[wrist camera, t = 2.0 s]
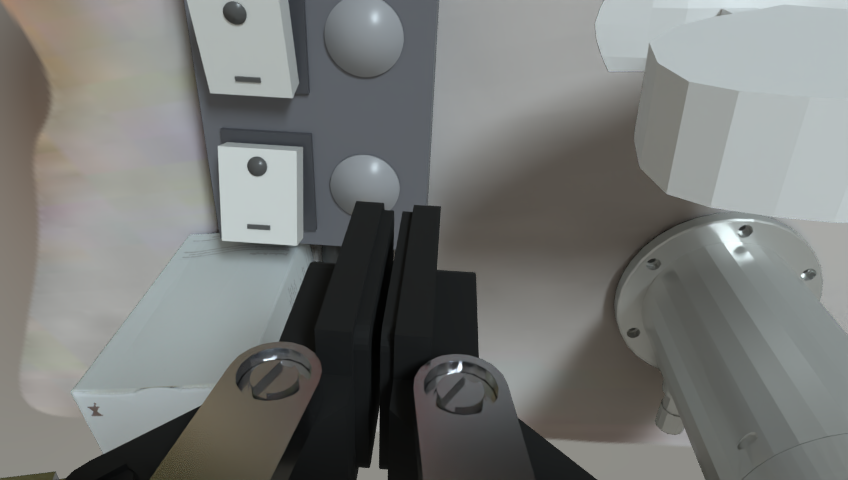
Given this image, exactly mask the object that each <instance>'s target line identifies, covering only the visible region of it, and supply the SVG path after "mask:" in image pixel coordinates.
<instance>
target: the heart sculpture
mask: <svg viewBox="0 0 848 480" xmlns="http://www.w3.org/2000/svg"><path fill="white" fill-rule="evenodd" d="M595 31H596V39H597V43H598V46H599V49H600V53H601V56H602V58H603V60H604V63H605V65H606V67H607V69H608V72H644V78H643V84H642V90H641V96H640V102H639V108H638V114H637V120H636V127H635V133H634V143H635V148H636V153H637V158H638V163H639V167H640V168H641V169H642V170H643V171H644V172H645V173H646V174H647V175H648V176H649V177H650V178H651V179H652V180H653V181H654V182H655V183H656V184H657V185H658V186H659V187H660V188H661V189H662V190H663V191H664V192H665V193H666V194H668V195H671V196H674V197H678V198H681V199H684V200H687V201H691V202H694V203H697V204H701V205H704V206H707V207H710V208H717V209H724V210H731V211H737V212H744V213H751V214H757V215H764V216H771V217H780V218H791V219H801V220H812V221H822V222H833V223H848V0H604V2H603V4H602V5H601V7H600V10H599V13H598V16H597V19H596V22H595Z"/></svg>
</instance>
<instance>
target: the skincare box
mask: <svg viewBox="0 0 848 480" xmlns="http://www.w3.org/2000/svg"><path fill="white" fill-rule="evenodd" d="M311 262H314V260H313V255H312V251H311V246H310V244H302V243H299V244H298V245H297V246H293V245H278V244H264V243H249V242H234V241H222V238H220V234H219V233H213V234H194V235H189V236H188V237H187V239H186V240H185V242H184V243H183V244H182V246H181V247H180V248H179V249H178V251H177V252H176V253H175V255H174V256H173V257H172V259H171V260H170V262H169V263H168V264H167V266H166V267H165V268H164V270H163V271H162V272H161V274H160V275H159V276H158V278H157V279H156V280H155V282H154V283H153V284H152V286H151V287H150V288H149V290H148V291H147V292H146V294H145V295H144V296H143V298H142V299H141V300H140V302H139V303H138V304H137V306H136V307H135V308H134V310H133V311H132V312H131V313H130V315H129V316H128V317H127V319H126V320H125V321H124V323H123V324H122V325H121V327H120V328H119V329H118V331H117V332H116V333H115V335H114V336H113V337H112V339H111V340H110V341H109V343H108V344H107V345H106V347H105V348H104V349H103V351H102V352H101V353H100V355H99V356H98V357H97V358H96V360H95V361H94V362H93V364H92V365H91V367H90V368H89V369H88V370H87V372H86V373H85V374H84V376H83V377H82V378H81V380H80V381H79V382H78V383H77V384H76V386H75V387H74V388H73V389H72V390H71V395H72V396H73V398H74V400H75V402H76V403H77V405H78V407H79V409H80V411H81V413H82V415H83V416H84V418H85V420H86V422H87V424H88V426H89V428H90V430H91V432H92V433H93V435H94V437H95V439H96V441H97V443H98V445H99V447H100V449H101V451H102V453H103V454H105V453H107V452H109V451H111V450H113V449H115V448H117V447H119V446H121V445H123V444H125V443H127V442H129V441H131V440H133V439H135V438H137V437H139V436H141V435H143V434H145V433H147V432H149V431H151V430H153V429H155V428H157V427H159V426H161V425H163V424H165V423H167V422H169V421H171V420H173V419H175V418H177V417H179V416H181V415H183V414H185V413H187V412H189V411H191V410H193V409H195V408H197V407H199V406H201V405H202V404H203V402H204V401H205V399H206V398H207V397H208V395H209V394H210V392H211V391H212V389H213V388H214V387H215V385H216V384H217V382H218V381H219V379H220V378H221V377H222V375H223V374H224V372H225V371H226V369H227V368H228V367H229V365H230V364H231V363H232V362H233V361H234V360H235V359H236V358H237V357H238V356H239V355H240V354H242V353H244V352H245V351H247V350H248V349H250V348H253V347H255V346H258V345H261V344H264V343H271V342H278V341H279V340H280V337H281V335H282V332H283V329H284V327H285V324H286V322H287V319H288V317H289V314H290V312H291V309H292V307H293V304H294V302H295V299H296V296H297V294H298V291H299V289H300V286H301V284H302V281H303V279H304V276H305V274H306V271H307V268H308V266H309V264H310V263H311Z"/></svg>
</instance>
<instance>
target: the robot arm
mask: <svg viewBox="0 0 848 480" xmlns="http://www.w3.org/2000/svg"><path fill="white" fill-rule="evenodd" d="M440 211H441V207H440V206H425V205H414V207H413V212H408V211H403V212H402V217H401V223H400V228H399V234H398V240H397V245H396V251H395V257H394V211H393V210H385V207H384V203H379V202H364V201H356V203H355V206H354V209H353V212H352V215H351V218H350V221H349V225H348V228H347V231H346V234H345V237H344V240H343V243H342V246H341V249H340V252H339V255H338V258H337V261H336V263H327V262H311V263H310V264H309V266H308V268H307V271H306V274H305V276H304V279H303V281H302V284H301V286H300V289H299V291H298V294H297V296H296V299H295V302H294V304H293V307H292V309H291V312H290V314H289V317H288V319H287V322H286V324H285V327H284V329H283V332H282V335H281V337H280V340H279V341H278V342H271V343H264V344H261V345H258V346H255V347H253V348H250V349H248V350H247V351H245V352H244V353H242V354H240V355H239V356H238V357H237V358H236V359H235V360H234V361H233V362H232V363H231V364H230V365H229V367H228V368H227V369H226V371H225V372H224V374H223V375H222V377H221V378H220V379H219V381H218V382H217V384H216V385H215V387H214V388H213V389H212V391H211V392H210V394H209V395H208V397H207V398H206V399H205V401H204V402H203V404H202V405H201V406H199V407H197V408H195V409H193V410H191V411H189V412H187V413H185V414H183V415H181V416H179V417H177V418H175V419H173V420H171V421H169V422H167V423H165V424H163V425H161V426H159V427H157V428H155V429H153V430H151V431H149V432H147V433H145V434H143V435H141V436H139V437H137V438H135V439H133V440H131V441H129V442H127V443H125V444H123V445H121V446H119V447H117V448H115V449H113V450H111V451H109V452H107V453H105V454H103V455H101V456H99V457H97V458H95V459H93V460H91V461H89V462H87V463H86V464H84V465H82V466H81V467H79V468H78V469H76V470H74V471H73V472H72V473H71V474H70V475H69V476H68V477H67V478H64V479H59V478H58V476H57V473H56V472H47V473H39V474H30V475H22V476H14V477H6V478H0V480H356V479H357V474H358V468H359V467H363V468H369V467H370V464H371V458H372V451H373V445H374V439H375V432H376V426H377V419H378V413H379V406H380V440H379V441H380V443H379V448H380V449H379V468H380V469H388V480H597V479H595V478H594V477H593V476H592V475H590V474H589V473H588V472H586V471H585V470H584V469H582V468H581V467H580V466H579V465H577V464H576V463H575V462H574V461H572V460H571V459H570V458H569V457H567V456H566V455H565V454H563V453H562V452H561V451H560V450H558V449H557V448H556V447H554V446H553V445H552V444H551V443H549V442H548V441H547V440H545V439H544V438H543V437H542V436H540V435H539V434H538V433H536V432H535V431H534V430H533V429H531V428H530V427H529V426H527V425H526V424H525V423H524V422H522V421H521V420H520V419H519V418H517V414H516V411H515V407H514V404H513V401H512V397H511V394H510V390H509V387H508V384H507V382H506V380H505V378H504V376H503V374H502V373H501V372H500V371H499V370H498V369H497V368H495V367H494V366H493V365H492V364H490V363H488V362H486V361H485V360H483V359H480V358H479V352H478V323H477V294H476V274H475V273H473V272H459V271H444V270H437V257H438V242H439V227H440ZM393 257H394V262H393ZM822 287H823V276H822V270H821V265H820V263H819V261H818V258H817V256H816V254H815V252H814V251H813V250H812V248H811V247H810V246H809V245H808V244H807V242H806V241H805V240H804V239H803V238H802V237H801V236H800V235H799V234H798V233H796V232H795V231H794V230H793V229H792V228H791V227H789V226H787V225H785V224H783V223H781V222H780V221H778V220H776V219H772V218H769V217H766V216H762V215H757V214H751V213H742V212H732V213H717V214H712V215H708V216H703V217H698V218H695V219H692V220H690V221H687V222H684V223H682V224H679V225H677V226H675V227H673V228H671V229H669V230H668V231H666V232H664V233H662V234H660V235H659V236H657V237H656V238H655V239H654V240H652V241H651V242H650V243H648V244H647V245H646V246H645V247H643V248H642V249H641V251H640V252H639V253H638V254H637V255H636V256H635V257H634V258H633V259H632V260H631V262H630V263H629V265H628V266H627V268H626V270H625V271H624V273H623V274H622V276H621V279H620V281H619V284H618V287H617V289H616V295H615V302H614V308H615V317H616V321H617V324H618V327H619V330H620V333H621V335H622V337H623V339H624V341H625V343H626V345H627V346H628V347H629V348H630V349H631V350H632V351H633V353H634V354H635V355H636V356H638V357H639V358H640V359H642V360H643V361H645V362H646V363H647V364H649V365H651V366H654V367H656V368H658V369H660V371H661V373H662V376H663V378H664V380H663V383H662V389H663V391H664V393H665V396H664V398H663V399H662V402H661V404H660V407H659V410H658V413H657V416H656V419H655V422H656V425H657V427H658V428H659V429H660V430H661V431H663V432H665V433H667V434H672V435H677V434H681V432H682V431H683V430H684V428H685V430H686V433H687V435H688V438H689V440H690V443H691V445H692V448H693V450H694V453H695V455H696V457H697V460H698V463H699V465H700V468H701V470H702V472H703V475H704V477H705V480H848V334H847V333H846V332H845V331H844V330H843V329H842V327H841V326H840V325H839V324H838V323H837V321H836V320H835V319H834V318H833V317H832V315H831V314H830V313H829V312H828V311H827V309H826V308H825V307H824V306H823V305H822V303H821V302H820V299H821V296H822Z"/></svg>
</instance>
